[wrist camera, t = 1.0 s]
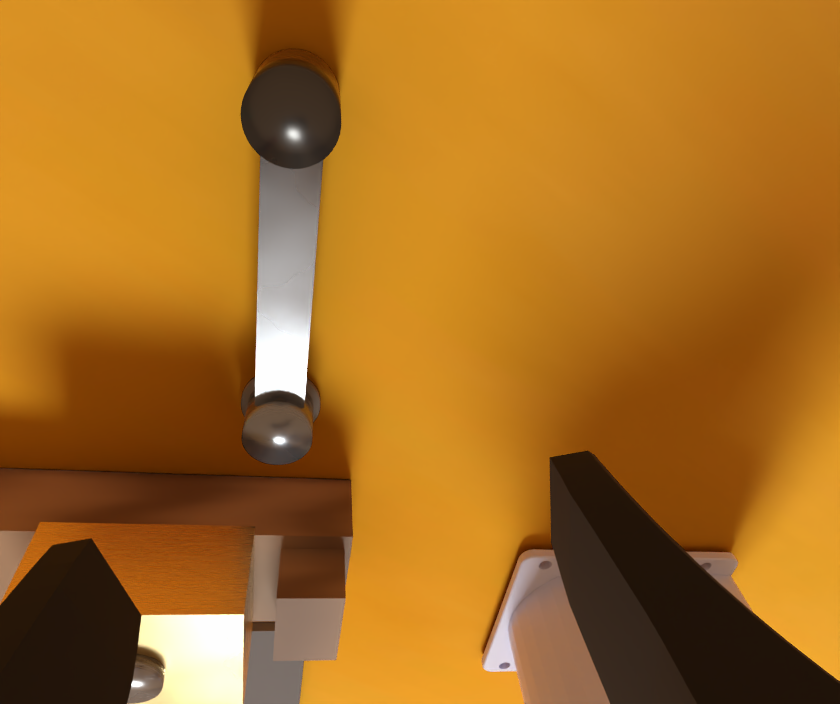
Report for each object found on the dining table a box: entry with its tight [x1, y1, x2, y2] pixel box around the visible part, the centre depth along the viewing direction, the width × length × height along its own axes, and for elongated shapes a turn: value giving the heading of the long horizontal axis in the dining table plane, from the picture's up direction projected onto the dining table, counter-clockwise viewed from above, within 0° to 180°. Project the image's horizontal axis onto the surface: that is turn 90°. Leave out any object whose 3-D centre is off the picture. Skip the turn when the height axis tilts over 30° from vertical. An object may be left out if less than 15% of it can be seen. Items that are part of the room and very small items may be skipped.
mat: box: [244, 622, 304, 704], centre depth 27 cm, size 10×8×1 cm
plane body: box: [0, 377, 353, 661], centre depth 19 cm, size 14×9×4 cm, turn 81°
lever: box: [241, 49, 341, 465], centre depth 16 cm, size 2×11×2 cm, turn 171°
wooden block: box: [0, 522, 255, 704], centre depth 19 cm, size 6×5×3 cm
